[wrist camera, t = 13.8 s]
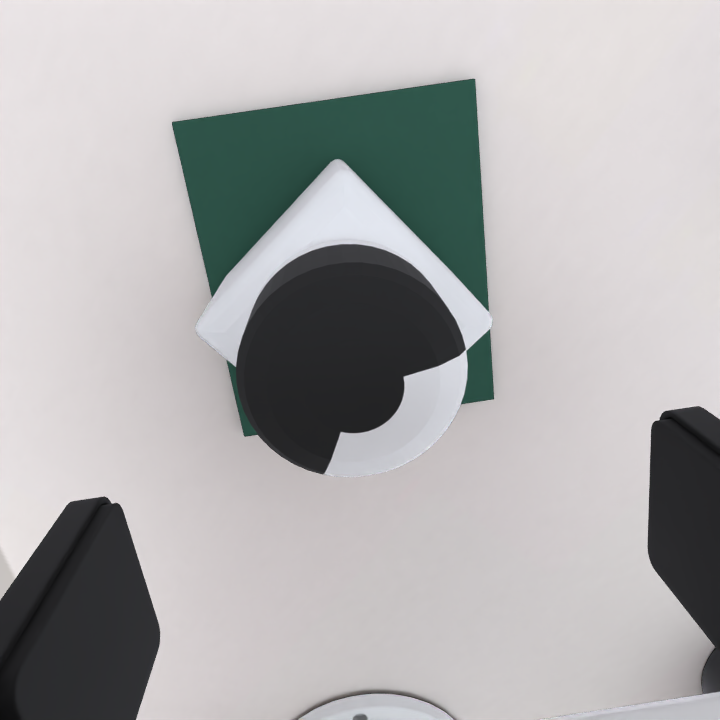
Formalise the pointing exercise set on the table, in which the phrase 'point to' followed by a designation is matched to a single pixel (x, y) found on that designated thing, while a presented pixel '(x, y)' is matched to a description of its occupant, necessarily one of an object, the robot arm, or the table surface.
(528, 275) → the table surface
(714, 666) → the water bottle
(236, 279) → the medicine bottle
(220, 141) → the cutting mat
